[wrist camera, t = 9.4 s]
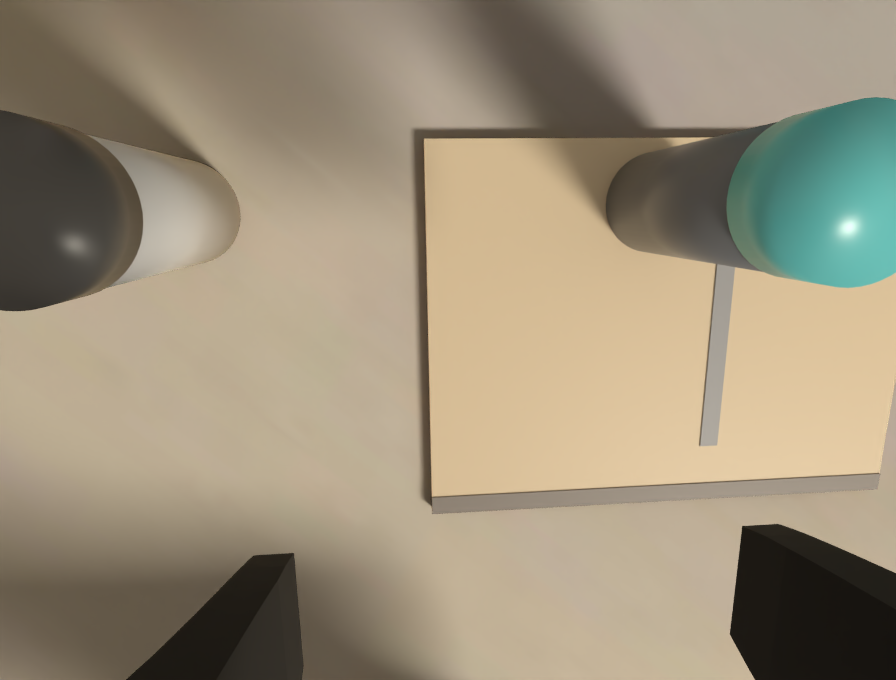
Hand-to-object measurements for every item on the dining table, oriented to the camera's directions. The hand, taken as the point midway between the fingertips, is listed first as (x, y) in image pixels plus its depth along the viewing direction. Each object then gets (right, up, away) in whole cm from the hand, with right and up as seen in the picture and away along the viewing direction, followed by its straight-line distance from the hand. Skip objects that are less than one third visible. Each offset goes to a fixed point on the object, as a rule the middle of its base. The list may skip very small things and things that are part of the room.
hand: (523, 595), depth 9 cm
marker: (+5, +8, +8) cm, 13 cm away
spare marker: (-9, +8, +8) cm, 14 cm away
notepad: (+6, +4, +10) cm, 12 cm away
